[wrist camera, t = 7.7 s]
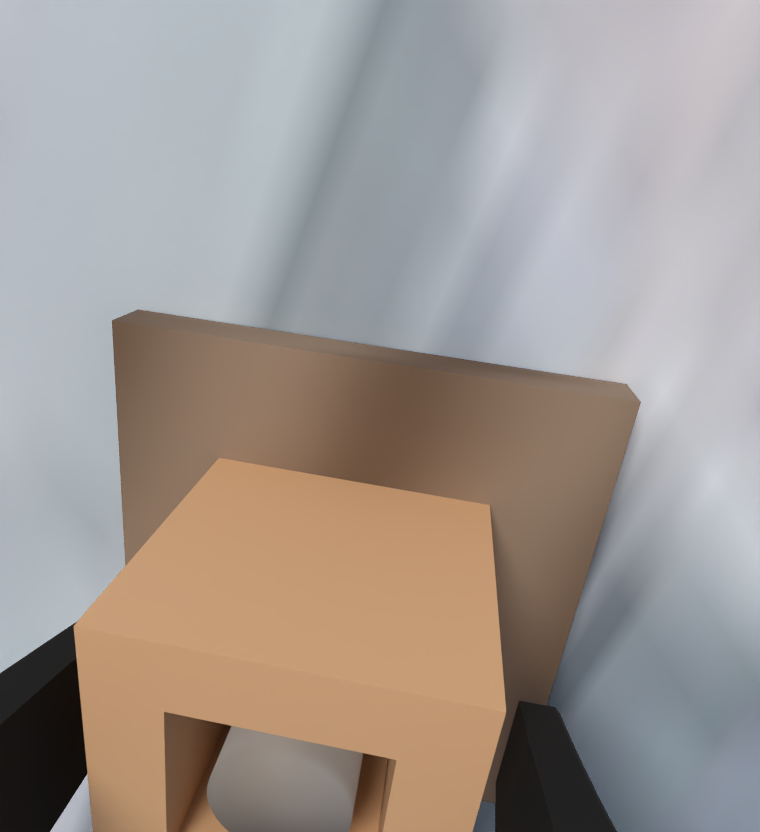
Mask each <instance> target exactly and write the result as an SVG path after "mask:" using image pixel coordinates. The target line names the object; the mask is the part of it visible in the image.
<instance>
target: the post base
mask: <svg viewBox="0 0 760 832" xmlns="http://www.w3.org/2000/svg"><path fill="white" fill-rule="evenodd" d="M112 329H113V347H114V365H115V384H116V402H117V420H118V438H119V456H120V474H121V493H122V511H123V529H124V547H125V565H127V564H128V563H129V561H130V560H131V559H132V558H133V557H134V556H135V554H136V553H137V552H138V551H139V550H140V549H141V548H142V546H143V545H144V544H145V543H146V542H147V541H148V539H149V538H150V537H151V536H152V535H153V534H154V532H155V531H156V530H157V529H158V528H159V527H160V526H161V524H162V523H163V522H164V521H165V520H166V519H167V517H168V516H169V515H170V514H171V513H172V512H173V511H174V509H175V508H176V507H177V506H178V505H179V504H180V502H181V501H182V500H183V499H184V498H185V497H186V495H187V494H188V493H189V492H190V491H191V490H192V489H193V487H194V486H195V485H196V484H197V483H198V482H199V480H200V479H201V478H202V477H203V476H204V475H205V474H206V472H207V471H208V470H209V469H210V468H211V467H212V465H213V464H214V463H215V462H216V461H217V460H218V458H222V459H228V460H234V461H240V462H245V463H251V464H257V465H263V466H268V467H274V468H280V469H285V470H291V471H297V472H303V473H308V474H314V475H320V476H326V477H331V478H337V479H343V480H349V481H354V482H360V483H366V484H371V485H377V486H383V487H389V488H394V489H400V490H406V491H412V492H417V493H423V494H429V495H435V496H440V497H446V498H452V499H457V500H463V501H469V502H475V503H480V504H486V505H490V514H491V527H492V539H493V552H494V564H495V577H496V589H497V602H498V614H499V627H500V640H501V652H502V665H503V677H504V690H505V702H506V715H505V719H504V722H503V726H502V729H501V733H500V736H499V740H498V743H497V747H496V750H495V754H494V757H493V761H492V764H491V768H490V771H489V775H488V779H487V782H486V786H485V789H484V793H483V796H482V801H487V802H491V803H496V779H497V776H498V772H499V769H500V765H501V762H502V758H503V755H504V751H505V748H506V744H507V741H508V737H509V734H510V730H511V727H512V723H513V720H514V716H515V713H516V709H517V706H518V702H519V700H520V701H525V702H530V703H536V704H541V705H546V706H547V702H548V699H549V696H550V693H551V690H552V686H553V683H554V680H555V677H556V673H557V670H558V667H559V664H560V661H561V657H562V654H563V651H564V648H565V644H566V641H567V638H568V635H569V632H570V628H571V625H572V622H573V619H574V615H575V612H576V609H577V606H578V603H579V599H580V596H581V593H582V590H583V586H584V583H585V580H586V577H587V574H588V570H589V567H590V564H591V561H592V557H593V554H594V551H595V548H596V545H597V541H598V538H599V535H600V532H601V528H602V525H603V522H604V519H605V516H606V512H607V509H608V506H609V503H610V499H611V496H612V493H613V490H614V487H615V483H616V480H617V477H618V474H619V470H620V467H621V464H622V461H623V458H624V454H625V451H626V448H627V445H628V441H629V438H630V435H631V432H632V429H633V425H634V422H635V419H636V416H637V412H638V409H639V406H640V403H641V402H640V401H639V399H638V398H637V397H636V396H635V394H634V393H633V392H632V390H631V389H630V388H629V387H628V385H627V384H621V383H615V382H608V381H602V380H595V379H589V378H582V377H576V376H569V375H562V374H556V373H549V372H543V371H536V370H530V369H523V368H517V367H510V366H503V365H497V364H490V363H484V362H477V361H471V360H464V359H458V358H451V357H445V356H438V355H431V354H425V353H418V352H412V351H405V350H399V349H392V348H386V347H379V346H372V345H366V344H359V343H353V342H346V341H340V340H333V339H327V338H320V337H313V336H307V335H300V334H294V333H287V332H281V331H274V330H268V329H261V328H254V327H248V326H241V325H235V324H228V323H222V322H215V321H209V320H202V319H196V318H189V317H182V316H176V315H169V314H163V313H156V312H150V311H143V310H136V311H134V312H131V313H129V314H127V315H124V316H122V317H119V318H117V319H114V320H112ZM362 758H363V753H360V752H356V751H351V750H346V749H341V748H336V747H332V746H327V745H322V744H317V743H312V742H307V741H303V740H298V739H293V738H288V737H283V736H278V735H274V734H269V733H264V732H259V731H254V730H250V729H245V728H240V727H235V726H231V728H230V731H229V733H228V736H227V738H226V740H225V743H224V745H223V747H222V750H221V752H220V755H219V757H218V759H217V762H216V764H215V766H214V769H213V771H212V774H211V776H210V778H209V781H208V785H207V799H208V803H209V806H210V808H211V810H212V812H213V814H214V815H215V817H216V818H217V820H218V821H219V822H220V823H221V825H222V826H223V827H224V828H225V829H226V830H228V831H229V832H348V831H349V829H350V826H351V822H352V816H353V810H354V805H355V799H356V793H357V787H358V782H359V776H360V770H361V764H362Z"/></svg>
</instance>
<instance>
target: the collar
mask: <svg viewBox="0 0 760 832" xmlns="http://www.w3.org/2000/svg"><path fill="white" fill-rule="evenodd" d="M74 636H75V647H76V658H77V668H78V679H79V689H80V700H81V710H82V721H83V731H84V742H85V752H86V763H87V773H88V784H89V794H90V805H91V815H92V826H93V832H229V831H228V830H226V829H225V828H224V827H223V826H222V825H221V823H220V822H219V821H218V820H217V818H216V817H215V815H214V814H213V812H212V810H211V808H210V806H209V803H208V799H207V785H208V781H209V778H210V776H211V774H212V771H213V769H214V766H215V764H216V762H217V759H218V757H219V755H220V752H221V750H222V747H223V745H224V743H225V740H226V738H227V736H228V733H229V731H230V728H231V726H235V727H240V728H245V729H250V730H254V731H259V732H264V733H269V734H274V735H278V736H283V737H288V738H293V739H298V740H303V741H307V742H312V743H317V744H322V745H327V746H332V747H336V748H341V749H346V750H351V751H356V752H360V753H363V758H362V764H361V770H360V776H359V782H358V787H357V793H356V799H355V805H354V810H353V816H352V822H351V826H350V829H349V831H348V832H472V831H473V828H474V824H475V821H476V817H477V814H478V810H479V807H480V803H481V800H482V796H483V793H484V789H485V786H486V782H487V779H488V775H489V771H490V768H491V764H492V761H493V757H494V754H495V750H496V747H497V743H498V740H499V736H500V733H501V729H502V726H503V722H504V719H505V715H506V702H505V690H504V677H503V665H502V652H501V640H500V627H499V614H498V602H497V589H496V577H495V564H494V552H493V539H492V527H491V514H490V505H486V504H480V503H475V502H469V501H463V500H457V499H452V498H446V497H440V496H435V495H429V494H423V493H417V492H412V491H406V490H400V489H394V488H389V487H383V486H377V485H371V484H366V483H360V482H354V481H349V480H343V479H337V478H331V477H326V476H320V475H314V474H308V473H303V472H297V471H291V470H285V469H280V468H274V467H268V466H263V465H257V464H251V463H245V462H240V461H234V460H228V459H222V458H218V460H217V461H216V462H215V463H214V464H213V465H212V467H211V468H210V469H209V470H208V471H207V472H206V474H205V475H204V476H203V477H202V478H201V479H200V480H199V482H198V483H197V484H196V485H195V486H194V487H193V489H192V490H191V491H190V492H189V493H188V494H187V495H186V497H185V498H184V499H183V500H182V501H181V502H180V504H179V505H178V506H177V507H176V508H175V509H174V511H173V512H172V513H171V514H170V515H169V516H168V517H167V519H166V520H165V521H164V522H163V523H162V524H161V526H160V527H159V528H158V529H157V530H156V531H155V532H154V534H153V535H152V536H151V537H150V538H149V539H148V541H147V542H146V543H145V544H144V545H143V546H142V548H141V549H140V550H139V551H138V552H137V553H136V554H135V556H134V557H133V558H132V559H131V560H130V561H129V563H128V564H127V565H126V566H125V567H124V568H123V569H122V571H121V572H120V573H119V574H118V575H117V576H116V578H115V579H114V580H113V581H112V582H111V583H110V585H109V586H108V587H107V588H106V589H105V590H104V591H103V593H102V594H101V595H100V596H99V597H98V598H97V600H96V601H95V602H94V603H93V604H92V605H91V606H90V608H89V609H88V610H87V611H86V612H85V613H84V615H83V616H82V617H81V618H80V619H79V620H78V622H77V623H76V624H75V625H74Z"/></svg>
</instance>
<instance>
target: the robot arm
mask: <svg viewBox="0 0 760 832" xmlns="http://www.w3.org/2000/svg"><path fill="white" fill-rule="evenodd" d="M77 622H78V621H77ZM77 622H76V623H77ZM76 623H74V624H73V625H71V626H70V627H68V628H67V629H65V630H64V631H62V632H61V633H59V634H58V635H56V636H55V637H53V638H52V639H50V640H49V641H47V642H46V643H44V644H43V645H41V646H40V647H38V648H37V649H36V650H34V651H33V652H31V653H30V654H28V655H27V656H25V657H24V658H22V659H21V660H19V661H18V662H16V663H15V664H13V665H12V666H10V667H9V668H7V669H6V670H4V671H3V672H1V673H0V832H50V831H51V829H52V828H53V826H54V824H55V823H56V821H57V820H58V818H59V817H60V815H61V814H62V812H63V811H64V809H65V808H66V806H67V804H68V803H69V801H70V800H71V798H72V797H73V795H74V794H75V792H76V790H77V789H78V787H79V786H80V784H81V783H82V781H83V780H84V778H85V776H86V775H87V763H86V752H85V742H84V731H83V721H82V710H81V700H80V689H79V679H78V668H77V658H76V647H75V636H74V625H75V624H76ZM495 832H617V831H616V829H615V827H614V826H613V824H612V822H611V820H610V818H609V816H608V814H607V812H606V810H605V808H604V807H603V805H602V803H601V801H600V799H599V797H598V795H597V793H596V791H595V789H594V787H593V785H592V782H591V780H590V778H589V776H588V774H587V772H586V770H585V768H584V766H583V764H582V762H581V760H580V758H579V755H578V753H577V751H576V749H575V747H574V745H573V742H572V740H571V738H570V736H569V734H568V731H567V729H566V727H565V725H564V722H563V720H562V718H561V715H560V713H559V712H558V711H557V709H556V708H555V707H551V706H546V705H541V704H536V703H530V702H525V701H520V700H519V702H518V706H517V709H516V713H515V716H514V720H513V723H512V727H511V730H510V734H509V737H508V741H507V744H506V748H505V751H504V755H503V758H502V762H501V765H500V769H499V772H498V776H497V779H496V804H495Z"/></svg>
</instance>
